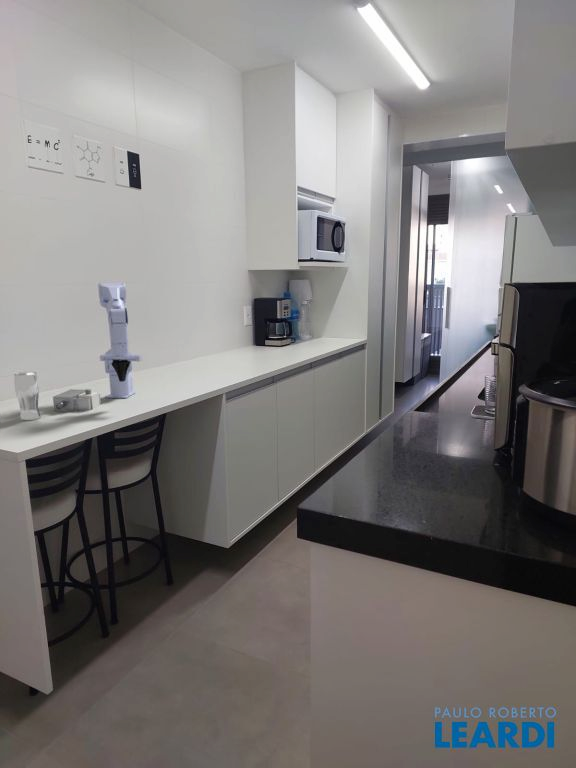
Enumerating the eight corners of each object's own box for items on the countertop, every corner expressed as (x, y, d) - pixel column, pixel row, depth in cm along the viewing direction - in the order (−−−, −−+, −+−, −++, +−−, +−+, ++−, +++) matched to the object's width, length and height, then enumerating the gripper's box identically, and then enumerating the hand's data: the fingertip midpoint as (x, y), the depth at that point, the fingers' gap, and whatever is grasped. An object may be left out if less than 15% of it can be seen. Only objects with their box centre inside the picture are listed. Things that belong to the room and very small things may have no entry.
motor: (71, 402, 188) (70, 389, 187) (102, 403, 187) (101, 390, 186) (49, 412, 173) (47, 398, 172) (82, 413, 172) (81, 399, 171)
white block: (86, 405, 184) (84, 388, 182) (99, 405, 183) (98, 388, 182) (79, 409, 179) (77, 391, 177) (92, 409, 178) (91, 391, 177)
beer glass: (28, 422, 162) (23, 376, 159) (13, 419, 165) (8, 374, 162) (46, 416, 168) (42, 372, 165) (32, 414, 171) (27, 371, 168)
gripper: (94, 344, 174) (97, 382, 177) (134, 344, 173) (137, 383, 175) (104, 341, 181) (106, 378, 184) (143, 342, 179) (145, 379, 182)
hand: (122, 381), depth 180 cm, fingers closed
